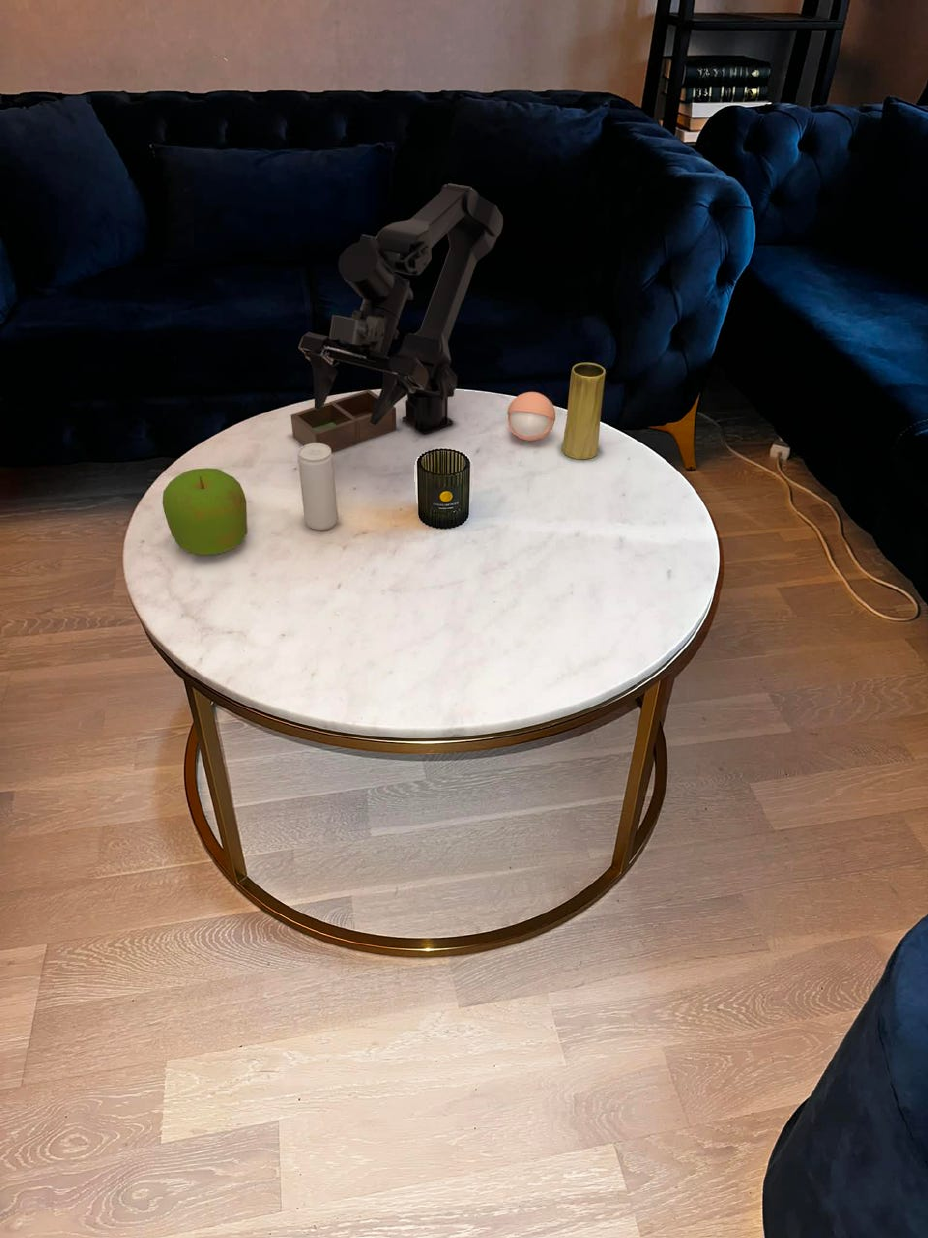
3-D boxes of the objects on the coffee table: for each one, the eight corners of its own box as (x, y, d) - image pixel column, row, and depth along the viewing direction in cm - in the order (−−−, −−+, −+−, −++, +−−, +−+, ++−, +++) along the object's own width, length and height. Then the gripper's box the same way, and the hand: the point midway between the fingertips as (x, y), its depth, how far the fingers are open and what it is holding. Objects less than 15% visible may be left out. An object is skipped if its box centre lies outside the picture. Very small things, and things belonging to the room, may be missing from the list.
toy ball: (501, 444, 156) (503, 401, 151) (511, 422, 161) (514, 380, 156) (548, 452, 154) (552, 408, 149) (557, 430, 160) (561, 387, 155)
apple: (156, 548, 132) (140, 482, 125) (209, 511, 139) (196, 447, 132) (216, 574, 128) (202, 507, 121) (267, 535, 135) (258, 470, 128)
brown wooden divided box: (370, 410, 164) (369, 389, 161) (396, 429, 159) (395, 407, 156) (292, 436, 156) (290, 414, 154) (317, 457, 152) (315, 434, 149)
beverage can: (305, 513, 139) (297, 442, 132) (338, 512, 140) (332, 441, 132) (304, 532, 136) (296, 460, 128) (337, 531, 136) (331, 459, 128)
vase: (556, 455, 154) (564, 374, 144) (567, 437, 158) (575, 358, 149) (592, 463, 152) (602, 381, 143) (602, 445, 156) (613, 365, 147)
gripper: (299, 276, 130) (262, 382, 130) (418, 301, 124) (379, 413, 124) (333, 310, 141) (299, 409, 140) (444, 336, 135) (409, 438, 134)
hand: (344, 416), depth 135 cm, fingers open, 9 cm apart
